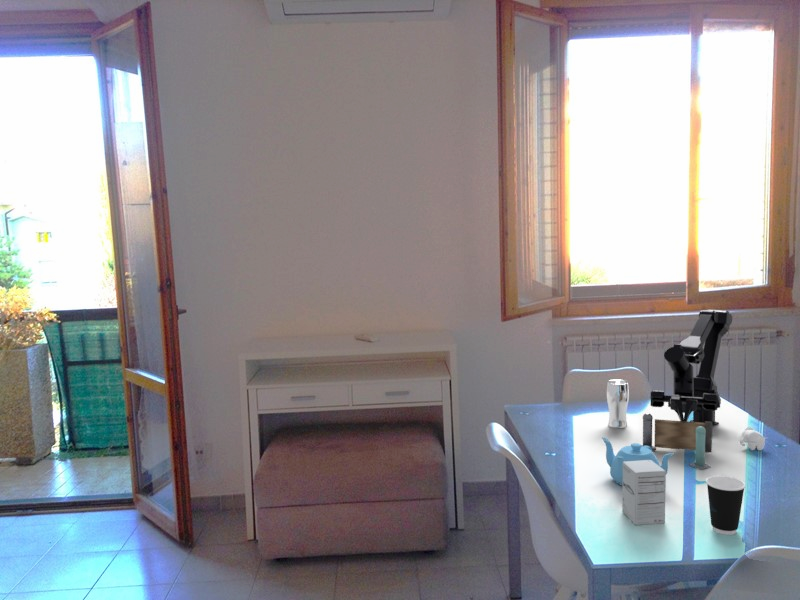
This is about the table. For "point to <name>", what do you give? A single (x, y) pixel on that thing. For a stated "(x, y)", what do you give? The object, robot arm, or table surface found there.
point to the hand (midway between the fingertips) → (683, 425)
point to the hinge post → (647, 431)
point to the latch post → (700, 449)
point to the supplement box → (643, 492)
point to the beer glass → (617, 403)
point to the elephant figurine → (752, 439)
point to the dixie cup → (725, 503)
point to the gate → (681, 434)
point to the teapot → (630, 458)
